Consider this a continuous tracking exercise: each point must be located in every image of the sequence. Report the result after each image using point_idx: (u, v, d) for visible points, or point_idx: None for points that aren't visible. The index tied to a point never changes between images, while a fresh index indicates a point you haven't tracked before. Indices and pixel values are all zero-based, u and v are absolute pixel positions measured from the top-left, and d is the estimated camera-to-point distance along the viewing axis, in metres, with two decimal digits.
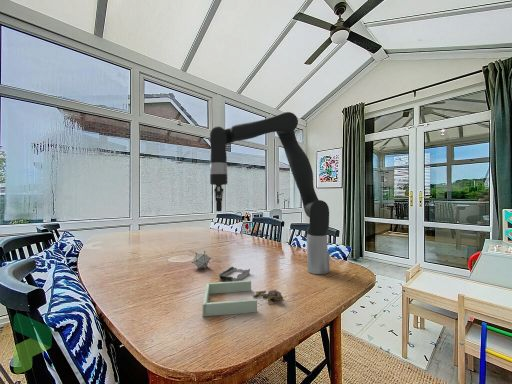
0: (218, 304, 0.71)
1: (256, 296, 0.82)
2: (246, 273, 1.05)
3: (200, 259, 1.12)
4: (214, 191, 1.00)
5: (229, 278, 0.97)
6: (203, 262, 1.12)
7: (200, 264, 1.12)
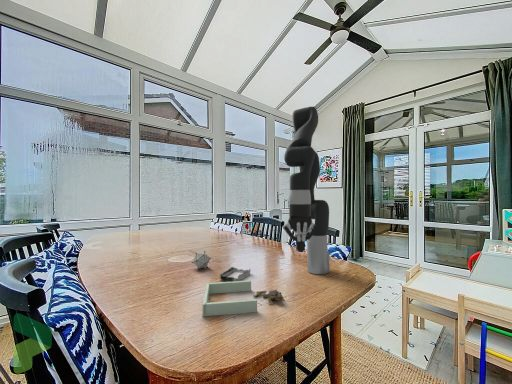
0: (218, 304, 0.71)
1: (256, 296, 0.82)
2: (247, 273, 1.04)
3: (200, 259, 1.12)
4: (306, 226, 0.82)
5: (229, 279, 0.97)
6: (203, 262, 1.12)
7: (200, 264, 1.12)
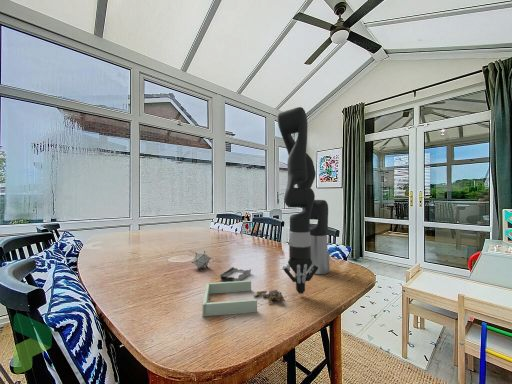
0: (218, 304, 0.71)
1: (257, 296, 0.82)
2: (247, 273, 1.04)
3: (200, 259, 1.12)
4: (306, 268, 0.81)
5: (230, 279, 0.97)
6: (203, 262, 1.12)
7: (200, 264, 1.12)
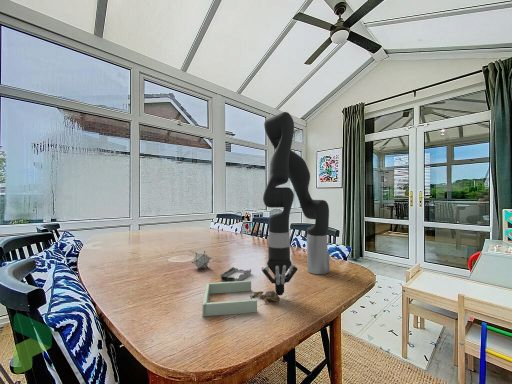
0: (218, 304, 0.71)
1: (253, 297, 0.82)
2: (247, 273, 1.04)
3: (200, 259, 1.12)
4: (285, 269, 0.80)
5: (230, 279, 0.97)
6: (203, 262, 1.12)
7: (200, 264, 1.12)
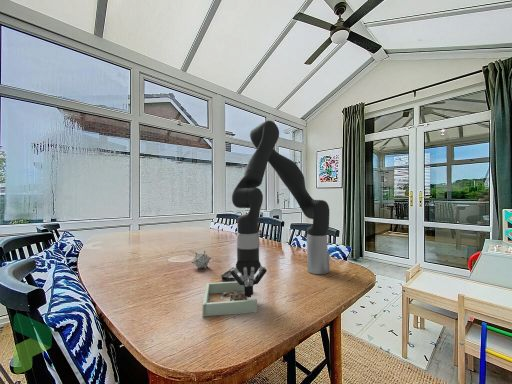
0: (218, 304, 0.71)
1: (225, 295, 0.83)
2: None
3: (200, 259, 1.12)
4: (253, 271, 0.79)
5: (231, 279, 0.97)
6: (203, 262, 1.12)
7: (200, 264, 1.12)
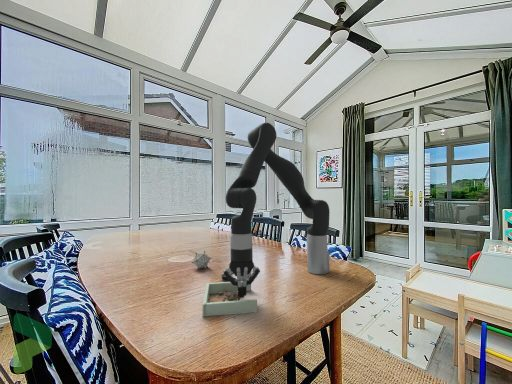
0: (218, 304, 0.71)
1: (220, 294, 0.84)
2: None
3: (200, 259, 1.12)
4: (247, 271, 0.79)
5: None
6: (203, 262, 1.12)
7: (200, 264, 1.12)
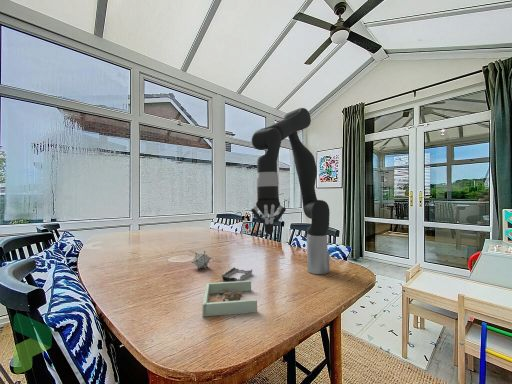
0: (218, 304, 0.71)
1: (220, 294, 0.84)
2: (249, 274, 1.04)
3: (200, 259, 1.12)
4: (273, 209, 0.81)
5: (232, 279, 0.96)
6: (203, 262, 1.12)
7: (200, 264, 1.12)
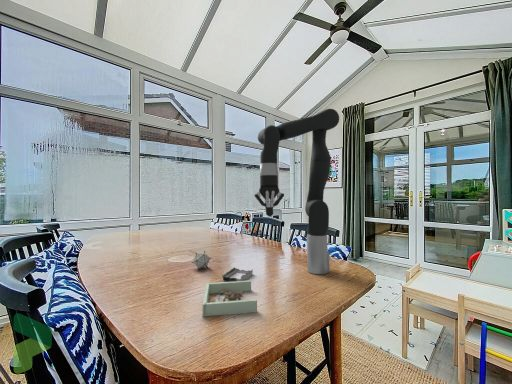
0: (218, 304, 0.71)
1: (221, 294, 0.84)
2: (249, 274, 1.04)
3: (200, 259, 1.12)
4: (274, 194, 0.96)
5: (232, 280, 0.96)
6: (203, 262, 1.12)
7: (200, 264, 1.12)
